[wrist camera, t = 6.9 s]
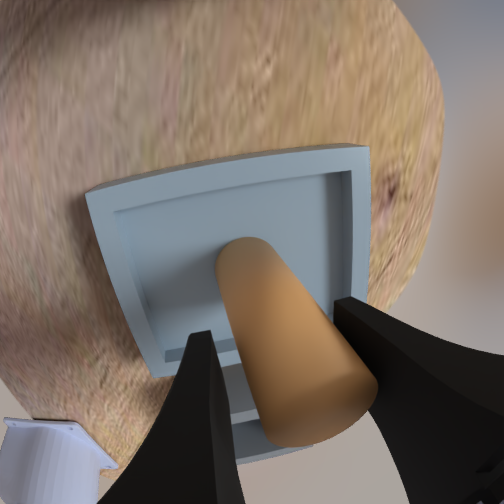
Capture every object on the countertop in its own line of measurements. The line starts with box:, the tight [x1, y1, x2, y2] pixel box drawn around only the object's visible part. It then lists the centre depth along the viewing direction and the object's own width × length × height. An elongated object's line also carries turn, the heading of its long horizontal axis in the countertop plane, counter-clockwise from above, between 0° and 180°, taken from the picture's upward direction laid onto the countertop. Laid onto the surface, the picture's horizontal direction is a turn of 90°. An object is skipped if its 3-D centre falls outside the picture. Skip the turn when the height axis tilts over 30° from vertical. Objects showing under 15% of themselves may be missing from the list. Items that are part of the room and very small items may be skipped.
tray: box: [85, 143, 371, 378], centre depth 14 cm, size 12×10×2 cm
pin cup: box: [221, 363, 313, 465], centre depth 17 cm, size 7×7×4 cm
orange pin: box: [215, 237, 378, 448], centre depth 10 cm, size 3×3×8 cm
